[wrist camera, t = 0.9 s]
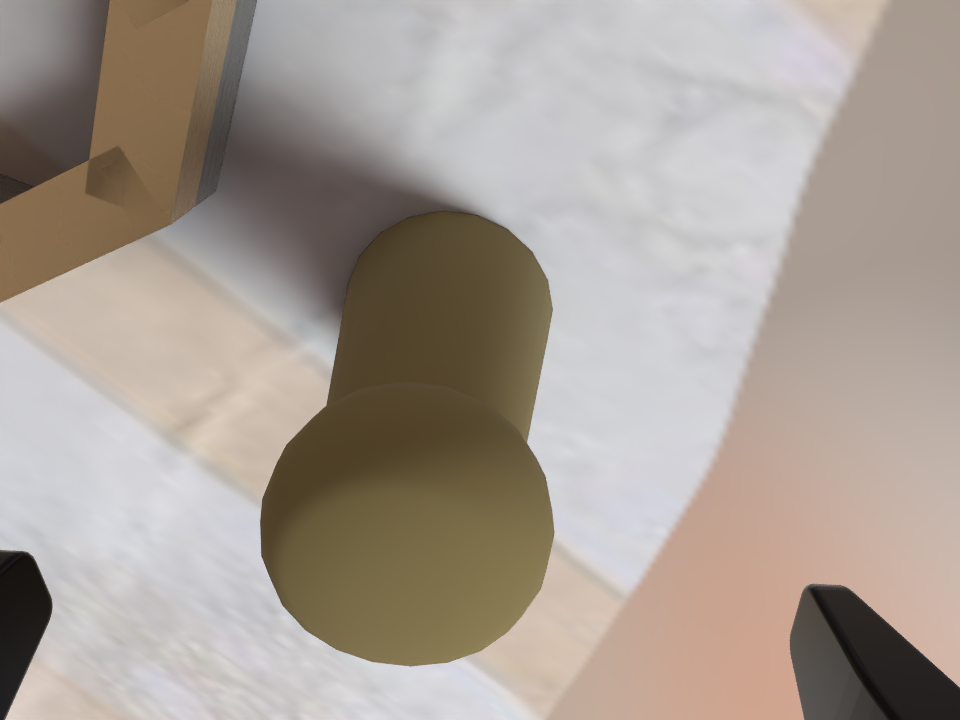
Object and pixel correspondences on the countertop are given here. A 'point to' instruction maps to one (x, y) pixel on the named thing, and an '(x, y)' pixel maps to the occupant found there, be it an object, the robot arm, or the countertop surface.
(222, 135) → the lower chain end
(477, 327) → the cork
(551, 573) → the countertop surface
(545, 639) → the countertop surface
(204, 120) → the upper chain end
